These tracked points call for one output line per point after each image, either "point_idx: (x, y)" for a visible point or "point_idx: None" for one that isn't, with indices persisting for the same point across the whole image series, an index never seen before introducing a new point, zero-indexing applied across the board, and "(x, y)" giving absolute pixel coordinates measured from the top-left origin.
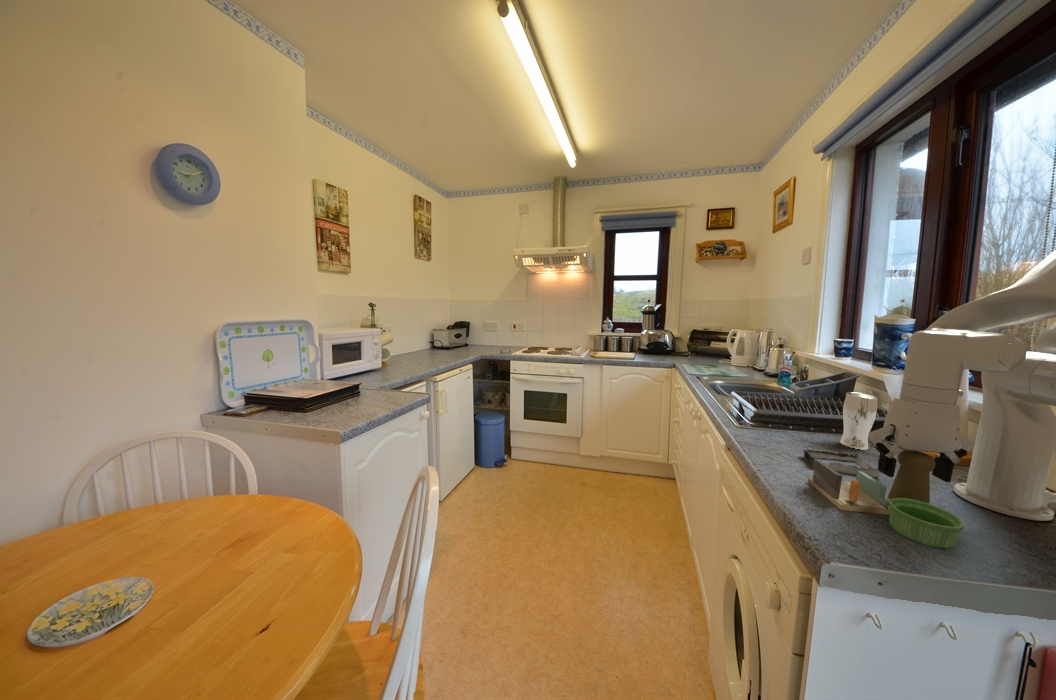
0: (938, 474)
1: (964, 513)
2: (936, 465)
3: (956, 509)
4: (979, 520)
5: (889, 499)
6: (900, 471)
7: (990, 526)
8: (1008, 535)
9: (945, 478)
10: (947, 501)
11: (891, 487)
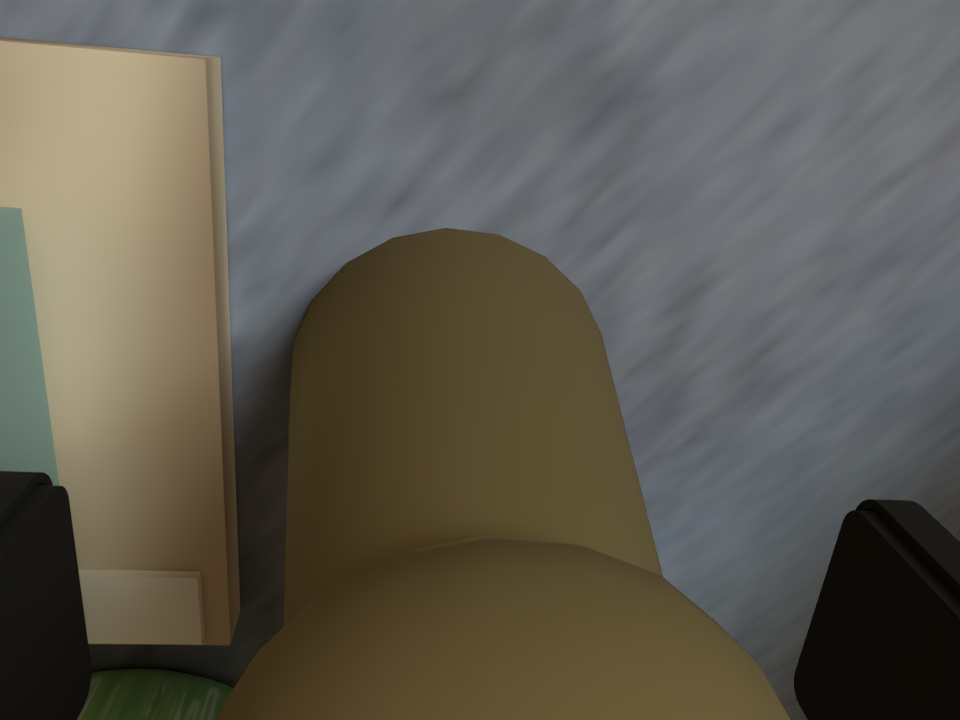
0: (849, 629)
1: (832, 478)
2: (955, 684)
3: (839, 422)
4: None
5: (212, 451)
6: (286, 604)
7: None
8: (800, 710)
9: (816, 714)
10: (935, 278)
11: (335, 332)
